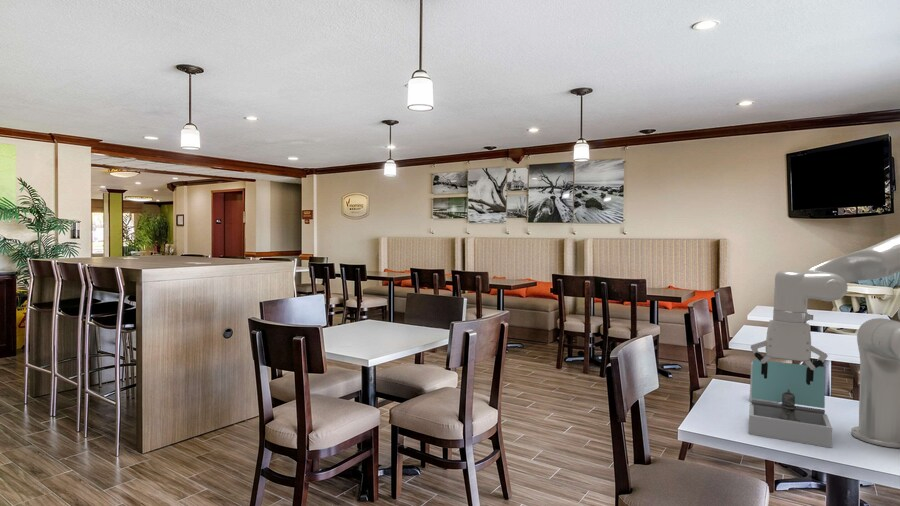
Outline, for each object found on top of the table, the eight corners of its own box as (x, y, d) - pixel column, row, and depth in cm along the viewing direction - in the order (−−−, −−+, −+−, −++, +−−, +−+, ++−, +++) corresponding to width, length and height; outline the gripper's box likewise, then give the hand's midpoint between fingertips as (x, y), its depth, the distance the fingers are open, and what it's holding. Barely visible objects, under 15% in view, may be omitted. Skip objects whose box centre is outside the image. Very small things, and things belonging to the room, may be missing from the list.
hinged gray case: (826, 432, 140) (826, 414, 140) (831, 448, 130) (832, 428, 130) (749, 420, 149) (749, 403, 149) (748, 433, 139) (749, 415, 139)
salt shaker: (796, 439, 135) (797, 393, 135) (771, 432, 140) (772, 388, 140) (803, 434, 139) (805, 389, 139) (779, 427, 144) (780, 384, 143)
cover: (824, 414, 139) (824, 414, 140) (824, 366, 141) (824, 367, 142) (751, 403, 148) (751, 403, 149) (752, 359, 150) (752, 359, 151)
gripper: (827, 319, 138) (824, 382, 138) (752, 312, 146) (749, 372, 147) (831, 322, 131) (827, 389, 132) (752, 315, 140) (749, 378, 140)
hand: (786, 380), depth 139 cm, fingers open, 9 cm apart
